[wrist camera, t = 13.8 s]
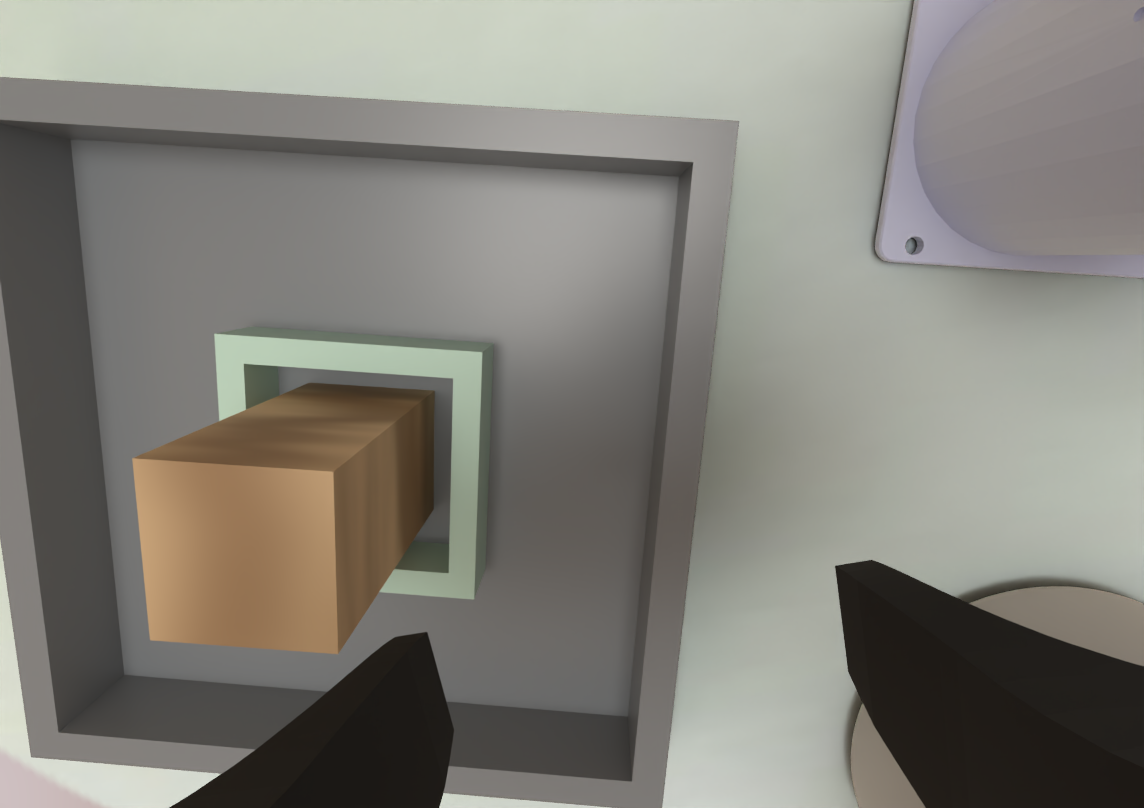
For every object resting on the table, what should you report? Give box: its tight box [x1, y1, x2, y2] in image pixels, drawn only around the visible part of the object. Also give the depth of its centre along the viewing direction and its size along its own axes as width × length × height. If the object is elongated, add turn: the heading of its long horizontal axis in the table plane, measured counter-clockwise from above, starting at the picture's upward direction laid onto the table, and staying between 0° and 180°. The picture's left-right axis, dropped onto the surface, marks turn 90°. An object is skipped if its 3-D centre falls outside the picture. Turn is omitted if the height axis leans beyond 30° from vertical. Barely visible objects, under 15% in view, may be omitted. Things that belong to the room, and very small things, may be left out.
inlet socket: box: [214, 327, 494, 600], centre depth 20 cm, size 8×8×2 cm
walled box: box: [0, 77, 739, 808], centre depth 20 cm, size 20×20×4 cm
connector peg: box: [132, 383, 435, 654], centre depth 17 cm, size 4×4×8 cm
